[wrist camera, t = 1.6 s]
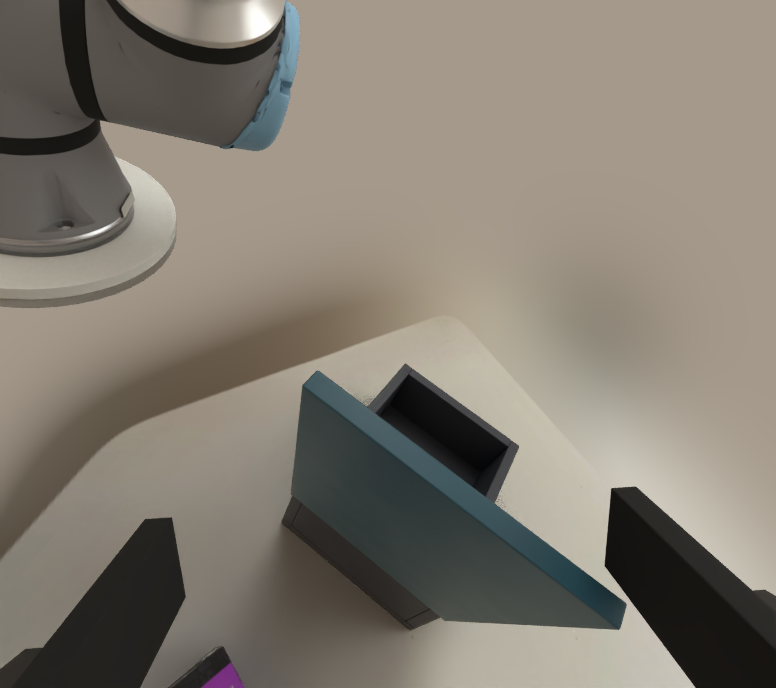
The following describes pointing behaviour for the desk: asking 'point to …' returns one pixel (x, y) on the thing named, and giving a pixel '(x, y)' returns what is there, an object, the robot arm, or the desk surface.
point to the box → (211, 673)
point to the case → (444, 443)
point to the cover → (433, 523)
